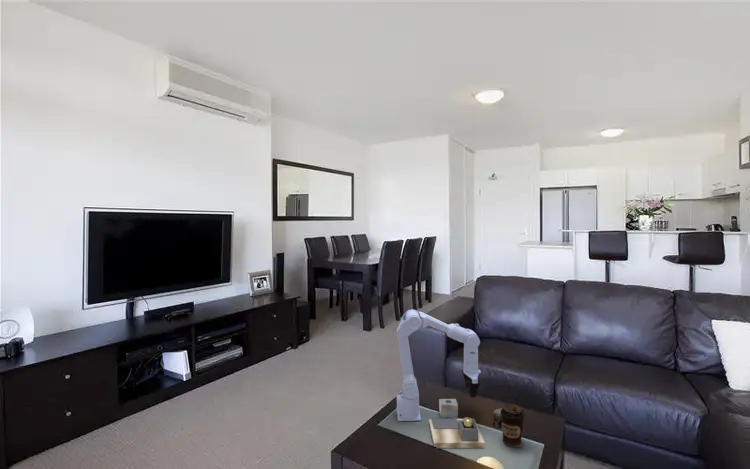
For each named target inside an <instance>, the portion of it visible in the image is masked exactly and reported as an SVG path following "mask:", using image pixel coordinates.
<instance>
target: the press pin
mask: <svg viewBox="0 0 750 469" xmlns="http://www.w3.org/2000/svg"><path fill="white" fill-rule="evenodd" d="M463 419H464V428H472V419H473V418H471V417H468V416H466V417H464V418H463Z"/></svg>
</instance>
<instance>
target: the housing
mask: <svg viewBox="0 0 750 469" xmlns="http://www.w3.org/2000/svg"><path fill="white" fill-rule="evenodd" d="M438 403H439V404H438V406H439V408H438V409H439V410H438V412H439V416H440V418H459V403H458V401H457V399H456V398H439V399H438Z"/></svg>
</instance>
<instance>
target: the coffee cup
mask: <svg viewBox="0 0 750 469" xmlns="http://www.w3.org/2000/svg"><path fill="white" fill-rule="evenodd" d="M501 408H502V409H501ZM501 408H500V409H501V420H500V421H501V432H502V441H503V443H504V444H505V445H507V446H509V447H511V448H512V447H513V448H519V447H522V437H523V432H524V419H525V418H526V413H525V411H524V408H523V407H521V405H518V404H513V403H507V404H504V405H502V407H501Z"/></svg>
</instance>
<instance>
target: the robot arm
mask: <svg viewBox="0 0 750 469" xmlns="http://www.w3.org/2000/svg"><path fill="white" fill-rule="evenodd" d="M426 327H431V328H434V329H436V330H438V331H441V332H444V333H446V336H447V337H449V339H452V340H454V341H458V342H459V343H461V344H462V343H463V368H462V369H461V373H462V376H463V380H464V384H465V388H466V389H468V393H469V396H470V398H476V397H477V395H478V389H479V388H480V386H481V384H482V381H481V380H478V377H479V374H481V373H482V371H481V370H480V369H479V346H480V344H481V340H480V338H479V336H478V335H477V333H476V332H475V331H474V330H472V329H470V328H465V327H462V326H460V324H459V323H456V322H455V323H449V324H448V323H446V322H444V321H441V320H439V319H437V318H435V317H433V316H431V315H428V314H427V313H425V312H422V311H420V310H419V311H418V310H416V309H415V308H414V309H408V310H407V311H406V312H404V314H403V315H402V317H401V320H400V323H399V325H398V326H397V329H396V338H397V344H398V345H397V346H398V351H399V358H400V364H401V372H402V380H401V385H402V391H401V393H400V394H396V407H395V408H396V409H395V410H396V417H397V421H399V422H403V421H404V422H406V421H407V422H408V421H409V422H411V421H412V422H414V421H418V422H419V421H421V420H422V418H421V411H420V394H419V392H420V391H419V388H418V382H417V381H418V380H417V378H416V377H415V375H414V374H415V373H414V367H413V362H412V355H411V354H412V353H411V348H410V342H409V336H411V335H412V333H414V332H416V331H417V330H420V328H422V329H424V328H426Z"/></svg>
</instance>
